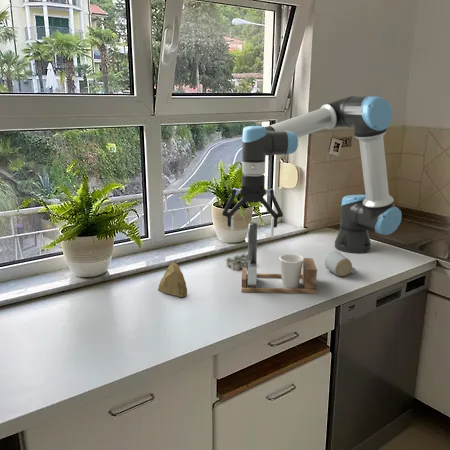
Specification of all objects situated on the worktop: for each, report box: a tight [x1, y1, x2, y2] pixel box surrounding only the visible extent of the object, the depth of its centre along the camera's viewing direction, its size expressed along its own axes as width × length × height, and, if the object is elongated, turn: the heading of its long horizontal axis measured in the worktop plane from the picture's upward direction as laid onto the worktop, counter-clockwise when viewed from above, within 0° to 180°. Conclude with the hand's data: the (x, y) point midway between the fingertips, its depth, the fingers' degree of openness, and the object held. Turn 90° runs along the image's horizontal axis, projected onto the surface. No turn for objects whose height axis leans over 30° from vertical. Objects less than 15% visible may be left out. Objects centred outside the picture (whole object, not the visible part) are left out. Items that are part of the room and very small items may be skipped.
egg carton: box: [224, 252, 248, 271], centre depth 180 cm, size 11×8×4 cm
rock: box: [157, 261, 188, 298], centre depth 154 cm, size 11×9×10 cm
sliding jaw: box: [247, 222, 258, 288], centre depth 159 cm, size 3×10×22 cm, turn 177°
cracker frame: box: [241, 257, 318, 294], centre depth 161 cm, size 25×14×8 cm, turn 87°
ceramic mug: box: [324, 250, 357, 278], centre depth 171 cm, size 11×8×8 cm
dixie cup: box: [278, 253, 305, 289], centre depth 160 cm, size 8×8×10 cm
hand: (252, 236), depth 158 cm, fingers open, 13 cm apart
